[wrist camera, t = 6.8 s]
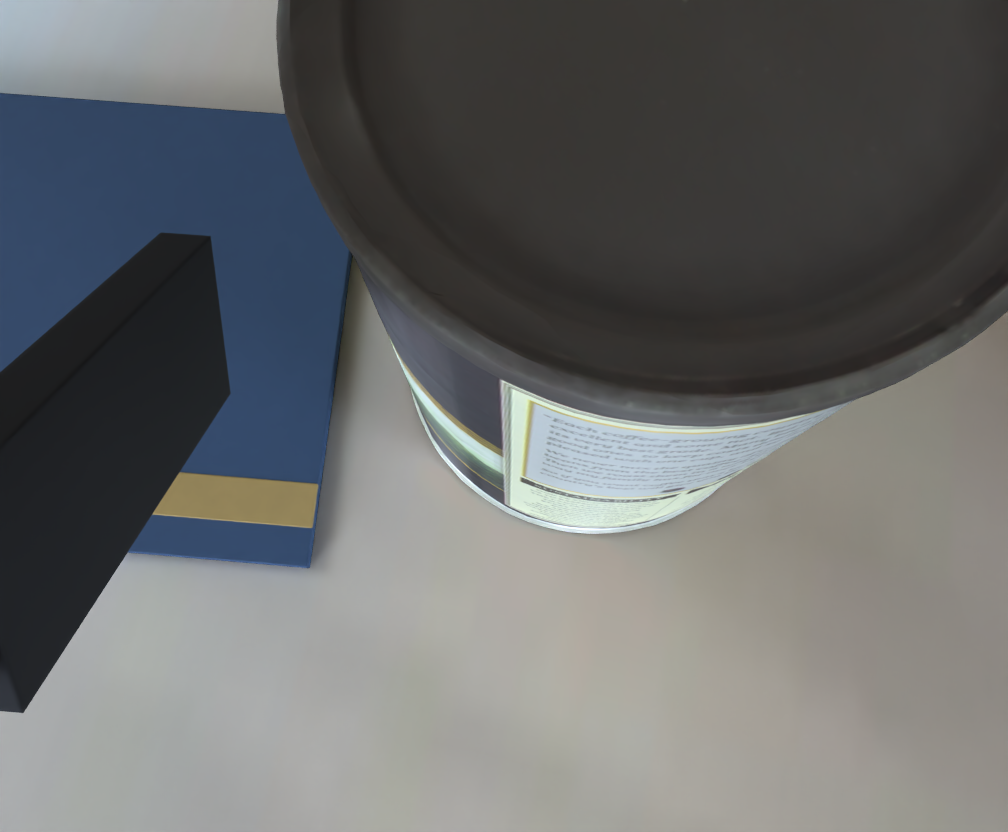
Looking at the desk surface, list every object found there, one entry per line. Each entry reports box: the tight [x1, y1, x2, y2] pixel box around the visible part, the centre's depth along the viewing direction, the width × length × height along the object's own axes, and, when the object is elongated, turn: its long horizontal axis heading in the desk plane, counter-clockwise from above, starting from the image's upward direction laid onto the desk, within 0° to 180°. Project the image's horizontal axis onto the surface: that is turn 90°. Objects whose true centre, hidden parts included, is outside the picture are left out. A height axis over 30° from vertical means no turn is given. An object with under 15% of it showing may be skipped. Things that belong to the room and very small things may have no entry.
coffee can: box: [277, 0, 1008, 534], centre depth 17 cm, size 10×10×14 cm
